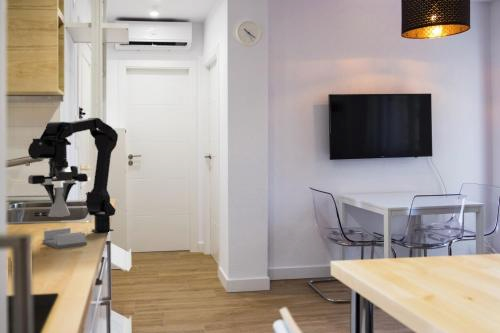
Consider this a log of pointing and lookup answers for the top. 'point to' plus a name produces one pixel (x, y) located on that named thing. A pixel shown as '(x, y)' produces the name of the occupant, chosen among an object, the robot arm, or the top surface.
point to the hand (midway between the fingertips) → (59, 203)
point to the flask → (59, 204)
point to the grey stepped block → (63, 238)
